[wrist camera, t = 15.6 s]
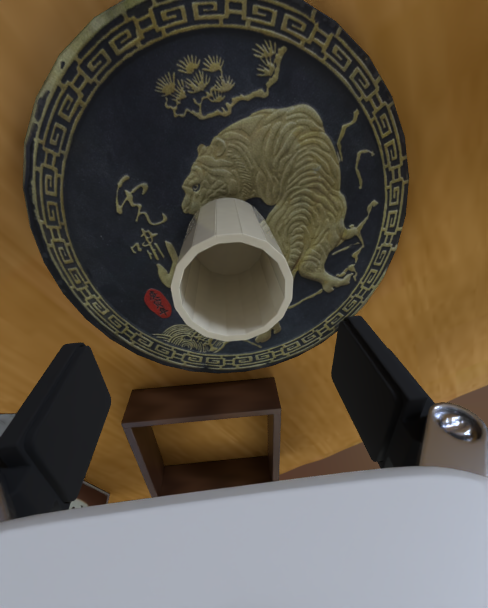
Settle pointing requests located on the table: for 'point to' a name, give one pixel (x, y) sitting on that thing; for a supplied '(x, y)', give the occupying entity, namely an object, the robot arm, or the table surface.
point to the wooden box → (200, 407)
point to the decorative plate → (213, 167)
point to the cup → (231, 273)
